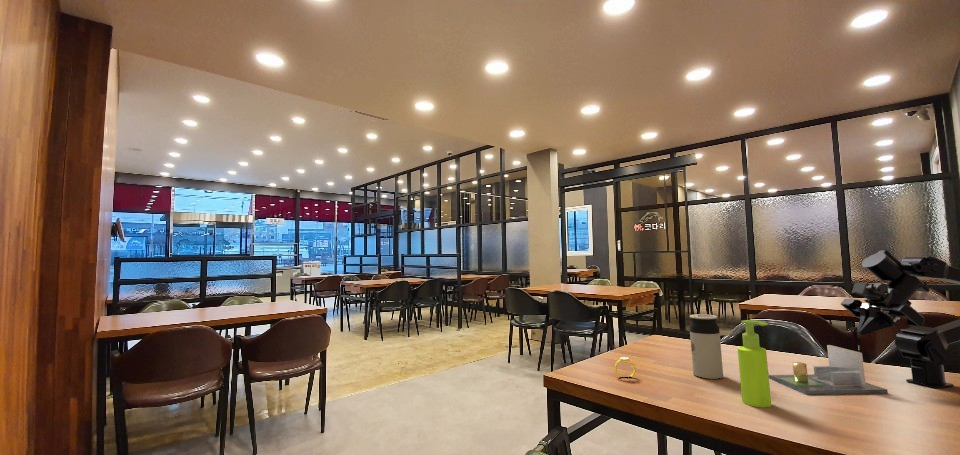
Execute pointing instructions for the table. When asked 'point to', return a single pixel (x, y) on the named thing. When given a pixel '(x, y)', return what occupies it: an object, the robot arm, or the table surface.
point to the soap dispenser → (753, 368)
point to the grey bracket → (842, 367)
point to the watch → (625, 361)
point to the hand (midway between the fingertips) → (859, 334)
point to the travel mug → (706, 346)
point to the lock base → (821, 383)
